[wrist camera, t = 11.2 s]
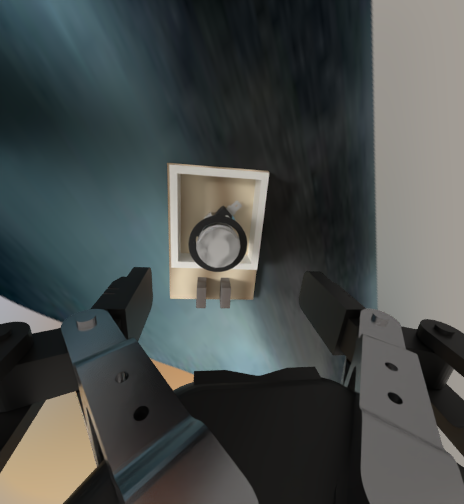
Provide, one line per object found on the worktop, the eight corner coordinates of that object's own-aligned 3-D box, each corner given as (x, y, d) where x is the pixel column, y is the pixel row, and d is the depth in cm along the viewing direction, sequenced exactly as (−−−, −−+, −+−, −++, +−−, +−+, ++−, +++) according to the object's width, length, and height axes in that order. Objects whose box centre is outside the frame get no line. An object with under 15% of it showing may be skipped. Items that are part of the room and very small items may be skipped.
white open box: (174, 258, 30) (171, 267, 27) (173, 165, 26) (169, 164, 23) (252, 260, 31) (257, 269, 28) (262, 172, 27) (269, 172, 24)
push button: (225, 185, 27) (234, 193, 18) (251, 218, 29) (273, 241, 19) (185, 221, 28) (174, 247, 19) (213, 250, 30) (216, 287, 20)
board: (171, 294, 33) (166, 311, 29) (168, 163, 27) (162, 161, 23) (251, 295, 34) (257, 311, 30) (266, 171, 28) (275, 171, 24)
